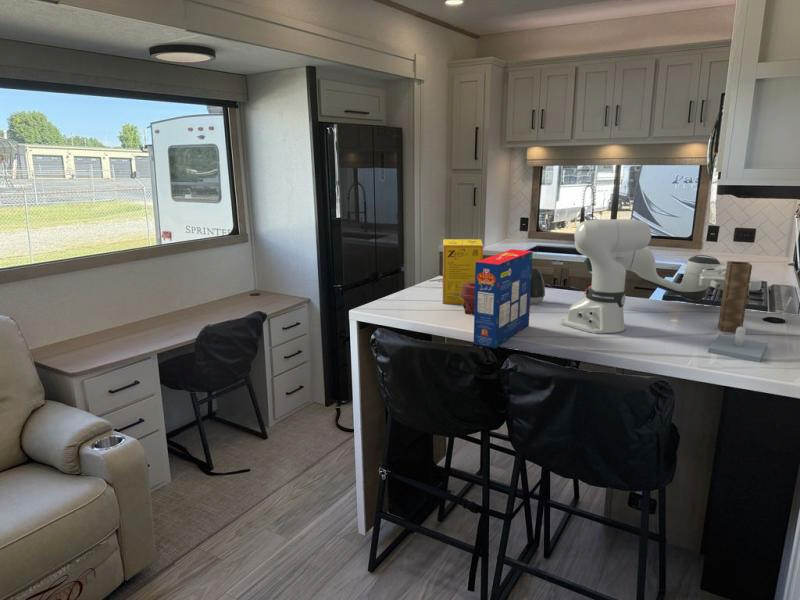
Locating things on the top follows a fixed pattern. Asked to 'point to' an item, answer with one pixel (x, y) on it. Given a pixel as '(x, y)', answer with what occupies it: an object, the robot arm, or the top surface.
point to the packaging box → (459, 266)
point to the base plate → (738, 346)
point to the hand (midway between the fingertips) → (732, 286)
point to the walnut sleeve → (734, 296)
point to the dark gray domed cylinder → (536, 286)
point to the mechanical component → (468, 297)
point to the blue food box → (502, 297)
